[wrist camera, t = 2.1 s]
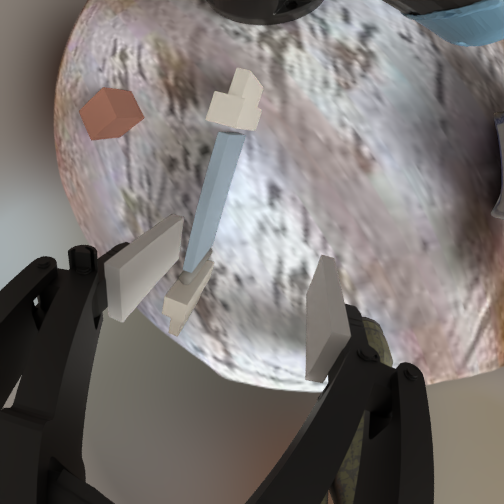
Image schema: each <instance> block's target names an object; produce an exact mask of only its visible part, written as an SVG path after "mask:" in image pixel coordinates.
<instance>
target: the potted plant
mask: <svg viewBox="0 0 504 504" xmlns="http://www.w3.org/2000/svg"><path fill="white" fill-rule="evenodd" d="M493 114H494V122H495V126H496V130H497V135H498V141H499V147H500V157H501V171H502V187H501V194H500V196H499V198H498V201H497V203H496V205H495V206H494V208H493V210H492V212H491V215H492V216H493V217H495V218H499V219H503V220H504V111H503V112H497V113H493Z"/></svg>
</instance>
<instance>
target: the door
mask: <svg viewBox="0 0 504 504" xmlns="http://www.w3.org/2000/svg"><path fill="white" fill-rule="evenodd" d="M245 137H246V135H244V134H240V133H235V132H218V135H217V138H216V142H215V145H214V148H213V152H212V155H211V159H210V162H209V166H208V169H207V173H206V176H205V180H204V184H203V187H202V191H201V195H200V199H199V202H198V206H197V210H196V214H195V218H194V222H193V226H192V231H191V235H190V239H189V243H188V248H187V252H186V257H185V261H184V266H183V270H184V271H183V272H182V273H181V275H180V276H179V280H180V282H181V283H182V284H184V285H190V284H191V282H192V281H193V279H194V278H195V277H196V275H197V274H198V272H199V271H200V270H201V268H202V267H203V265H204V264H205V262H206V261H207V260H208V258H209V257H210V255H211V254H212V249H211V247H212V245H213V242H214V239H215V235H216V232H217V228H218V225H219V221H220V218H221V214H222V211H223V207H224V204H225V201H226V197H227V194H228V191H229V187H230V184H231V181H232V178H233V174H234V171H235V168H236V165H237V162H238V158H239V155H240V152H241V149H242V146H243V143H244V140H245Z"/></svg>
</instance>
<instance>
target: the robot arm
mask: <svg viewBox="0 0 504 504" xmlns="http://www.w3.org/2000/svg"><path fill="white" fill-rule="evenodd" d="M206 1H207V2H208V3H209V5H210V6H211V7H212V8H213V9H214V10H215V11H216V12H218V13H219V14H220V15H222V16H224V17H226V18H228V19H231V20H233V21H236V22H240V23H245V24H253V25H273V24H280V23H285V22H289V21H293V20H296V19H298V18H301V17H303V16H305V15H307V14H309V13H310V12H312V11H313V10H314V9H316V8H317V7H318V6H319V5H320V4H321V3H322V1H323V0H206ZM383 1H384V2H386V3H388V4H389V5H391V6H393V7H394V8H396V9H398V10H399V11H401V13H402V14H403V15H404V16H406V17H407V18H409V19H413V20H415V21H417V22H418V23H420V24H422V25H423V26H425V27H426V28H428V29H429V30H431V31H432V32H434V33H435V34H436V35H438V36H439V37H441V38H442V39H444V40H445V41H447V42H449V43H452V44H455V45H458V46H466V47H467V46H483V45H487V44H491V43H494V42H497V41H500V40H502V39H504V0H383ZM183 221H184V217H182V216H178V215H174V214H172V215H170V216H169V217H167V218H166V219H164V220H163V221H161V222H160V223H158V224H157V225H155V226H154V227H153V228H151V229H150V230H148V231H147V232H146V233H144V234H143V235H141V236H140V237H139V238H137V239H136V240H134V241H133V242H132V243H128V242H125V243H121V244H118V245H116V246H115V247H114V248H112V249H111V250H109V251H108V252H107V253H106V254H104V255H102V256H101V257H100V258H98V259H97V250H96V248H94V247H92V246H89V245H79V246H75V247H73V248H71V249H70V250H68V256H69V265H70V269H69V270H64V269H59V268H57V262H56V260H55V259H54V258H52V257H47V256H45V257H44V256H43V257H40V258H37V259H36V260H34V261H33V262H31V263H30V264H29V265H28V266H27V267H26V268H25V269H23V270H22V271H21V272H20V273H19V274H18V275H17V276H16V277H14V278H13V279H12V280H11V281H10V282H9V283H8V284H7V285H6V286H5V287H4V288H3V289H2V290H1V291H0V504H115V503H113V502H112V501H110V500H109V499H108V498H106V497H105V496H104V495H103V494H101V493H100V492H99V491H98V490H96V489H95V488H94V487H92V486H90V485H89V484H87V483H86V482H85V481H86V480H85V479H86V477H85V467H84V463H83V460H82V440H83V439H82V438H83V428H84V419H85V410H86V402H87V396H88V389H89V383H90V377H91V372H92V366H93V361H94V356H95V352H96V347H97V343H98V338H99V334H100V329H101V326H102V322H103V313H102V312H103V311H104V310H105V309H106V308H107V307H108V315H109V317H111V318H113V319H115V320H117V321H120V322H122V323H123V322H124V321H125V319H126V318H127V317H128V316H129V315H130V314H131V312H132V311H133V310H134V309H135V308H136V307H137V305H138V304H139V303H140V302H141V301H142V300H143V298H144V297H145V296H146V295H147V294H148V293H149V292H150V290H151V289H152V288H153V287H154V286H155V285H156V284H157V283H158V281H159V280H160V279H161V278H162V277H163V276H164V275H165V274H166V272H167V271H168V270H169V269H170V268H171V267H172V266H173V265H174V264H175V263H176V261H177V260H178V259H179V254H180V245H181V237H182V229H183ZM36 297H37V299H38V304H37V305H36V306H35V305H34V302H33V300H34V299H35V298H36ZM306 309H307V320H306V376H305V380H309V381H314V382H320V383H323V382H324V380H325V379H326V377H327V375H328V384H327V386H326V387H325V389H324V390H323V392H322V393H321V394H320V396H319V397H318V401H317V403H316V404H315V406H314V408H313V409H312V411H311V413H310V414H309V416H308V417H307V419H306V421H305V422H304V424H303V425H302V427H301V429H300V430H299V432H298V433H297V435H296V436H295V438H294V439H293V441H292V442H291V444H290V445H289V447H288V448H287V450H286V451H285V453H284V454H283V455H282V457H281V458H280V460H279V461H278V462H277V464H276V465H275V467H274V468H273V469H272V470H271V472H270V473H269V475H268V476H267V477H266V478H265V480H264V481H263V482H262V483H261V485H260V486H259V487H258V489H257V490H256V491H255V492H254V493H253V495H252V496H251V497H250V498H249V499H248V501H247V502H246V503H245V504H321V502H322V501H323V499H324V497H325V495H326V493H327V492H328V490H329V488H330V486H331V484H332V482H333V480H334V479H335V477H336V475H337V473H338V471H339V469H340V467H341V465H342V462H343V460H344V458H345V456H346V454H347V452H348V449H349V447H350V445H351V443H352V440H353V438H354V436H355V433H356V431H357V428H358V426H359V423H360V421H361V418H362V416H363V413H364V410H365V416H364V428H363V439H362V448H361V456H360V464H359V471H358V477H357V484H356V489H355V495H354V500H353V504H434V461H433V443H432V433H431V422H430V415H429V406H428V400H427V393H426V387H425V381H424V377H423V374H422V372H421V371H420V370H419V368H418V367H416V366H415V365H413V364H411V363H406V362H404V363H400V365H399V366H398V367H397V368H396V369H395V368H392V367H390V366H388V365H385V364H383V363H382V362H380V356H379V354H378V352H377V351H376V350H375V349H374V348H372V347H371V346H369V343H368V339H367V335H366V331H365V328H364V324H363V320H362V316H361V313H360V312H359V311H358V309H357V308H356V307H355V306H352V305H348V304H345V303H344V298H343V294H342V289H341V285H340V280H339V276H338V272H337V268H336V263H335V259H334V258H332V257H328V256H325V255H321V257H320V260H319V263H318V266H317V268H316V271H315V274H314V276H313V279H312V282H311V284H310V287H309V290H308V292H307V295H306ZM21 375H22V377H21ZM20 377H21V380H20V383H19V386H18V389H17V393H16V397H15V400H14V403H13V405H12V407H11V408H3V406H4V404H5V402H6V401H7V399H8V397H9V395H10V394H11V392H12V390H13V388H14V387H15V385H16V383H17V382H18V380H19V378H20ZM2 408H3V409H2Z"/></svg>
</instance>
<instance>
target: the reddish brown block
mask: <svg viewBox="0 0 504 504" xmlns="http://www.w3.org/2000/svg"><path fill="white" fill-rule="evenodd" d="M79 113H80V115H81V118H82V120H83V123H84V125H85V127H86V130H87V132H88V134H89V136H90V139H91V140H99V139H108V138H118V137H121V136H122V135H123V134H125V133H126V132H127V131H128V130H130V129H131V128H132V127H133V126H135V125H136V124H137V123H139V122H140V121H141V120H142V119H144V116H143V114H142V112H141V110H140V108H139V106H138V104H137V102H136V100H135V98H134V96H133V94H132V92H131V91H125V90H119V89H112V88H105V87H103V88H102V89H101V90H100V91H99V92H98V93H97V94H96V95H95V96H94V97H93V98H91V99H90V100H89V101H88V102H87V103H86V104H85V105H84V106H83V108H82V109H81V110H80V111H79Z"/></svg>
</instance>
